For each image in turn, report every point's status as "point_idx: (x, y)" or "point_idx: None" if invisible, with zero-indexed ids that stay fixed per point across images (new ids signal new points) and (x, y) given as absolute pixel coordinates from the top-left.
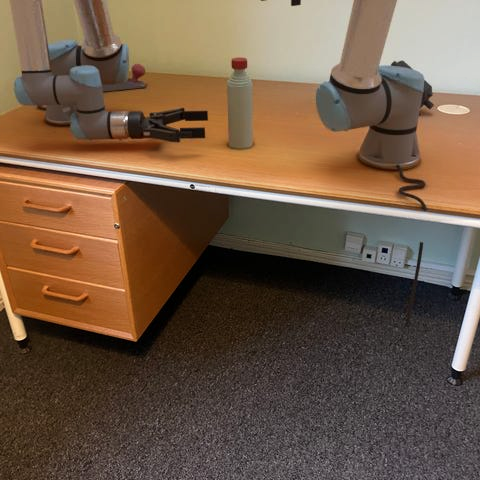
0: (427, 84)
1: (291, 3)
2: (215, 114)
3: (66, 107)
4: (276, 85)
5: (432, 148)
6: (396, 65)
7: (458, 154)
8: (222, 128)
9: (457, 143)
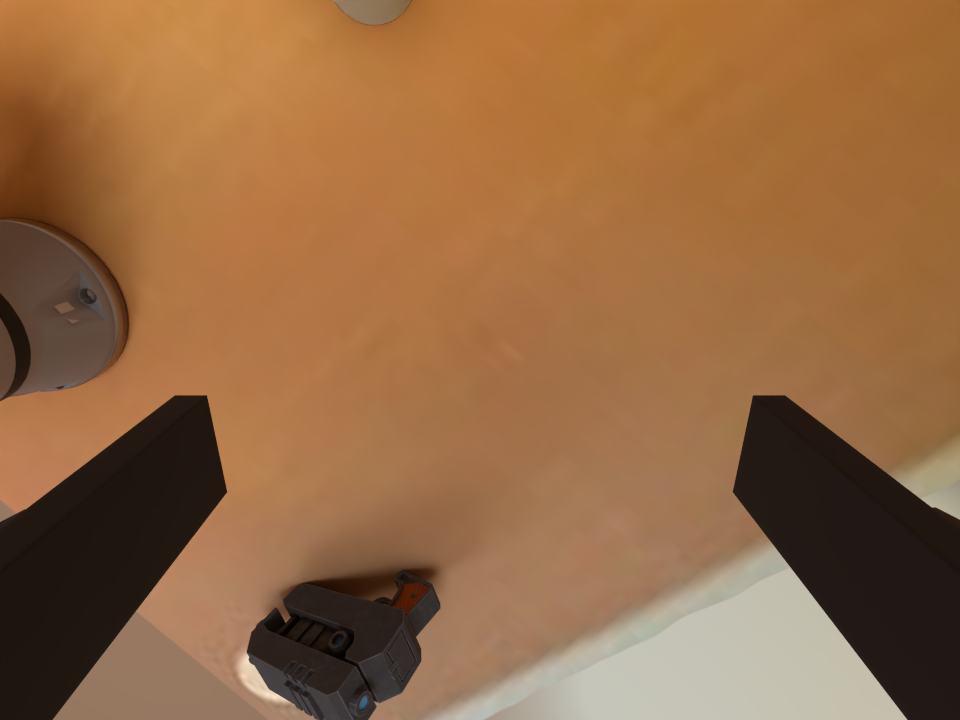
0: (271, 685)
1: (187, 407)
2: (713, 95)
3: None
4: None
5: (66, 447)
6: (324, 691)
7: (6, 464)
8: (560, 17)
9: None
